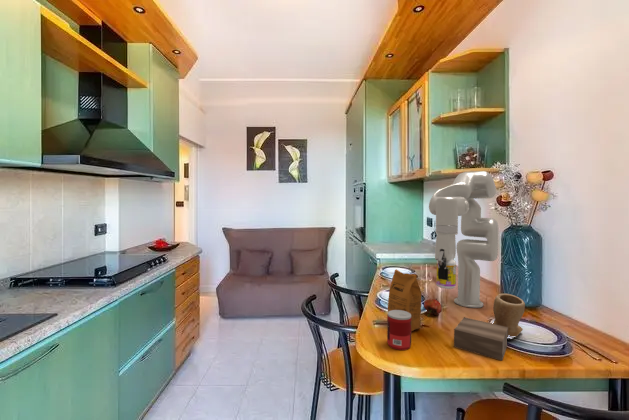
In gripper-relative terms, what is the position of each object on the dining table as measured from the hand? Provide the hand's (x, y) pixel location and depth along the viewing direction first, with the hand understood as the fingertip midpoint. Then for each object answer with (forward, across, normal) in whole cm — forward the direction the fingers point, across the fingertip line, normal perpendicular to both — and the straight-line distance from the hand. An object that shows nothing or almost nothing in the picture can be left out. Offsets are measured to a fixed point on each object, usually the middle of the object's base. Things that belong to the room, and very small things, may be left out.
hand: (446, 276), depth 110 cm
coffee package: (+22, +4, -15) cm, 27 cm away
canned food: (+22, +20, -9) cm, 31 cm away
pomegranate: (+22, -16, -10) cm, 29 cm away
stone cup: (+22, -14, +18) cm, 32 cm away
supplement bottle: (+4, 0, 0) cm, 4 cm away
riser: (+21, +2, +12) cm, 25 cm away
